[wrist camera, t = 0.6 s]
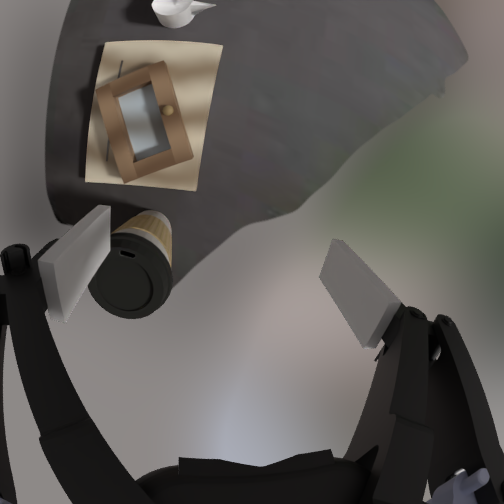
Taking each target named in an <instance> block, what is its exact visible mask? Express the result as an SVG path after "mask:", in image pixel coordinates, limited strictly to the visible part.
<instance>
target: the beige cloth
mask: <svg viewBox="0 0 504 504" xmlns="http://www.w3.org/2000/svg"><path fill="white" fill-rule="evenodd" d="M222 48H223V45H217V44H208V43H198V42H185V41H164V40H139V41H117V42H106V43H105V47H104V51H103V55H102V59H101V63H100V67H99V71H98V76H97V81H96V86H95V90H96V89H97V88H99V87H101V86H103V85H105V84H108V83H110V82H112V81H114V80H116V79H118V78H120V77H123V76H125V75H127V74H129V73H132V72H134V71H137V70H139V69H141V68H144V67H147V66H149V65H152V64H154V63H157V62H160V61H163V60H164V61H165V63H166V64H167V66H168V69H169V73H170V76H171V80H172V84H173V87H174V91H175V94H176V98H177V101H178V105H179V108H180V112H181V115H182V118H183V122H184V125H185V129H186V132H187V135H188V139H189V142H190V145H191V149H192V152H193V155H194V157H193V159H191V160H188V161H185V162H182V163H179V164H176V165H173V166H170V167H168V168H165V169H162V170H159V171H156V172H154V173H151V174H148V175H146V176H143V177H141V178H138V179H135V180H133V181H130V182H128V183H125V184H127V185H139V186H150V187H161V188H171V189H180V190H189V191H196V188H197V181H198V174H199V168H200V161H201V155H202V148H203V142H204V136H205V131H206V125H207V120H208V114H209V109H210V104H211V99H212V94H213V89H214V84H215V79H216V75H217V70H218V66H219V61H220V57H221V53H222ZM85 182H98V183H113V184H124V183H123V180H122V178H121V175H120V172H119V169H118V166H117V163H116V160H115V157H114V154H113V151H112V148H111V145H110V141H109V138H108V135H107V132H106V128H105V125H104V121H103V118H102V114H101V111H100V107H99V103H98V99H97V95H96V91H94V97H93V103H92V109H91V116H90V124H89V133H88V143H87V155H86V174H85Z"/></svg>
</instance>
